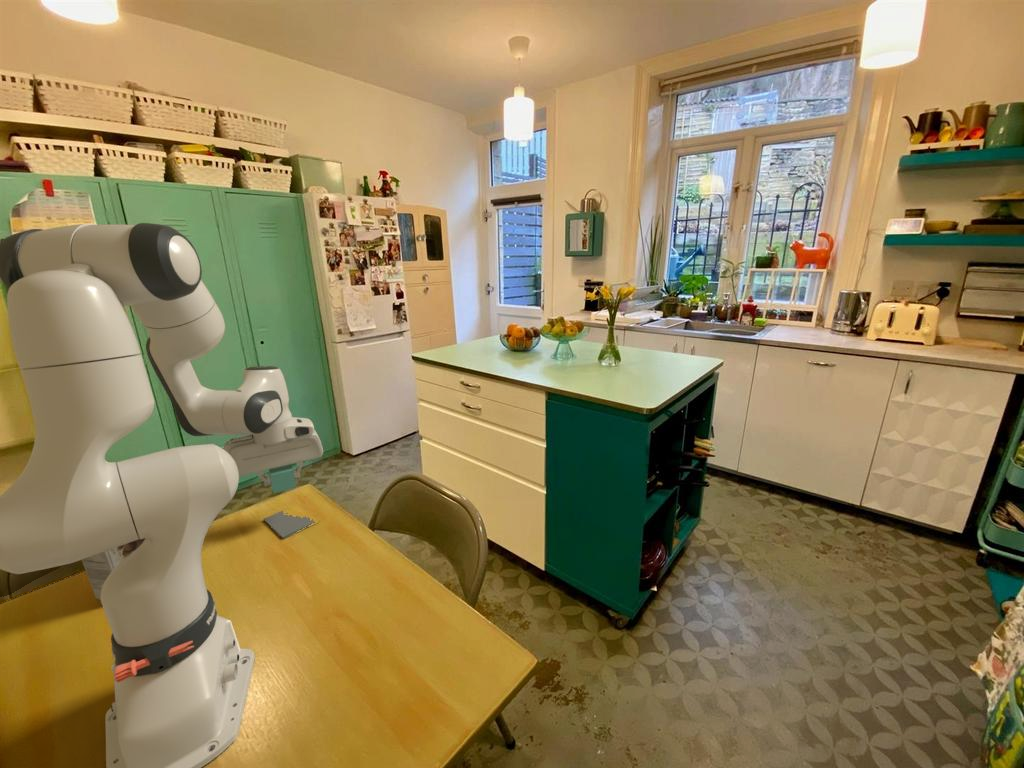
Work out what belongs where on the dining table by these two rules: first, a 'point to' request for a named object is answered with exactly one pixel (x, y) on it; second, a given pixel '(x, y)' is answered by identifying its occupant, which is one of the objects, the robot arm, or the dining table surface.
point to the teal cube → (282, 478)
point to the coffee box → (107, 564)
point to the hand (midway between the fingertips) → (282, 480)
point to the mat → (287, 523)
